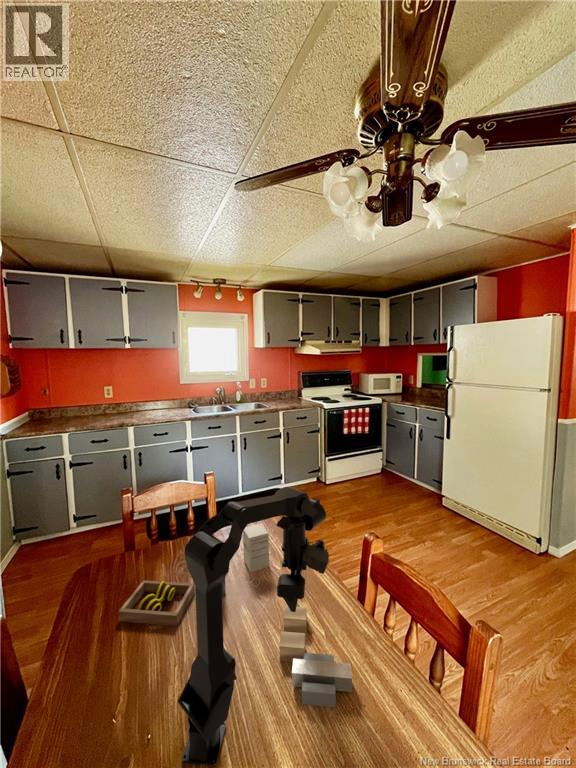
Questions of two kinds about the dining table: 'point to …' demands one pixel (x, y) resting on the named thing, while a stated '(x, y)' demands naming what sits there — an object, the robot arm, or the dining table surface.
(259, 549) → the supplement box
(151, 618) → the valet tray
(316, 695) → the v cradle
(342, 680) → the bar
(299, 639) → the wooden blocks
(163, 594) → the yellow looped piece
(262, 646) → the dining table surface
